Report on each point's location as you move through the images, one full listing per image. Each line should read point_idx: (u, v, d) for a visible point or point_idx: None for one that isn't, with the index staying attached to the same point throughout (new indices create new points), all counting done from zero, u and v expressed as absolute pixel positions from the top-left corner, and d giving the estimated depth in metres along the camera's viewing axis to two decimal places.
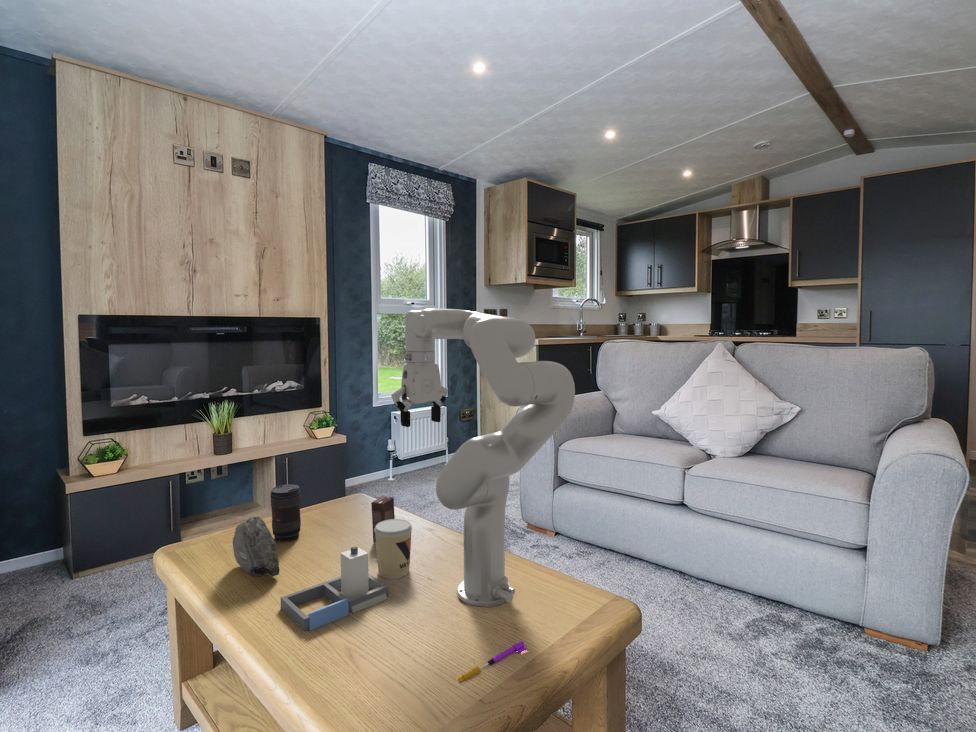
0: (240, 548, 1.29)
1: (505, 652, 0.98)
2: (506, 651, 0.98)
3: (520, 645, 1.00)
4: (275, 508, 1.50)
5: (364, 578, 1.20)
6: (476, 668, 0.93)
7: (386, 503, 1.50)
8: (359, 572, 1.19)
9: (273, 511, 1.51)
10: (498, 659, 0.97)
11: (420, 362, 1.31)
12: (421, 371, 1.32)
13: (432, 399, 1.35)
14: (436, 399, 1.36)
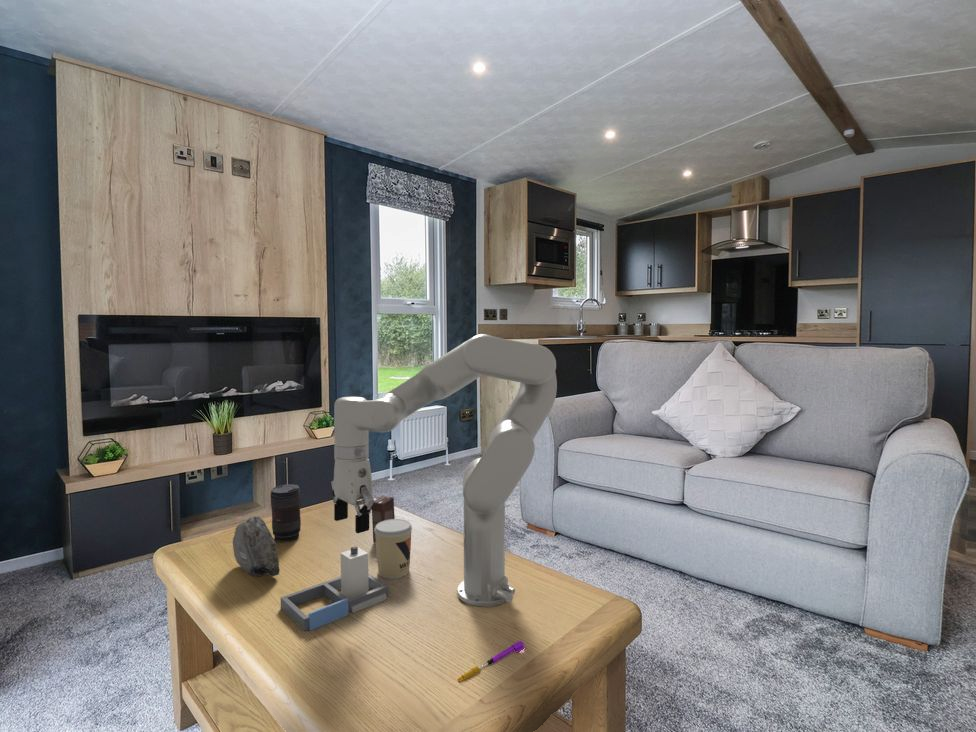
0: (240, 548, 1.29)
1: (504, 652, 0.98)
2: (505, 651, 0.99)
3: (519, 644, 1.00)
4: (275, 508, 1.50)
5: (364, 578, 1.20)
6: (476, 668, 0.94)
7: (386, 503, 1.50)
8: (359, 572, 1.19)
9: (273, 511, 1.51)
10: (497, 659, 0.97)
11: (368, 455, 1.19)
12: None
13: None
14: None
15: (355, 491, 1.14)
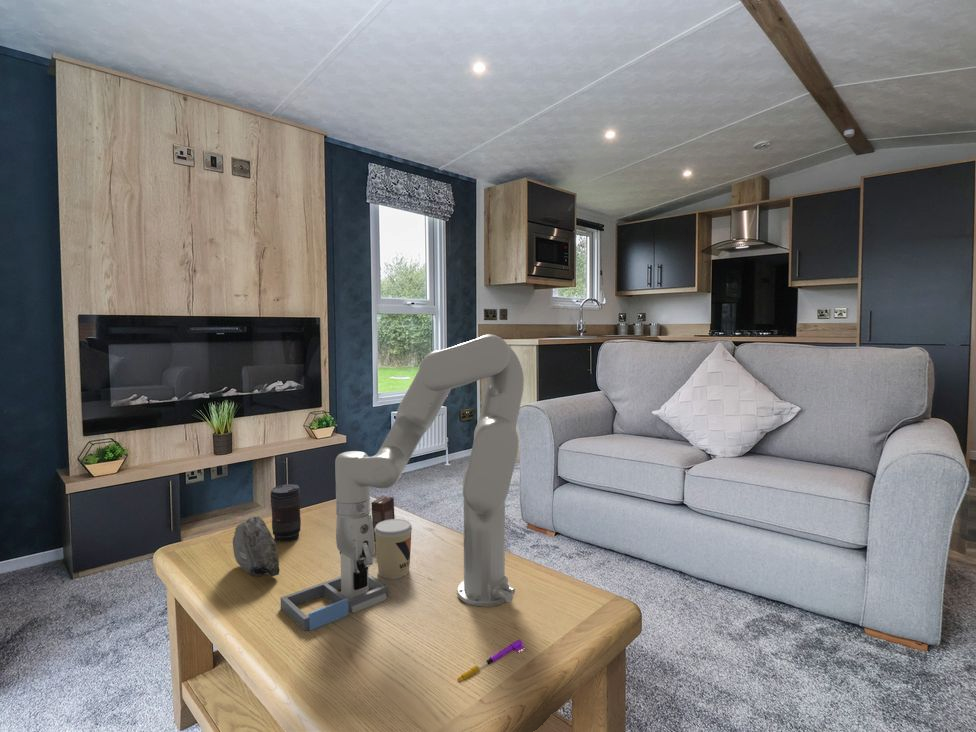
0: (240, 548, 1.29)
1: (503, 651, 0.98)
2: (504, 650, 0.99)
3: (518, 643, 1.01)
4: (275, 508, 1.50)
5: None
6: (475, 667, 0.94)
7: (386, 503, 1.50)
8: None
9: (273, 511, 1.51)
10: (496, 658, 0.97)
11: (369, 509, 1.20)
12: None
13: None
14: None
15: (357, 547, 1.15)
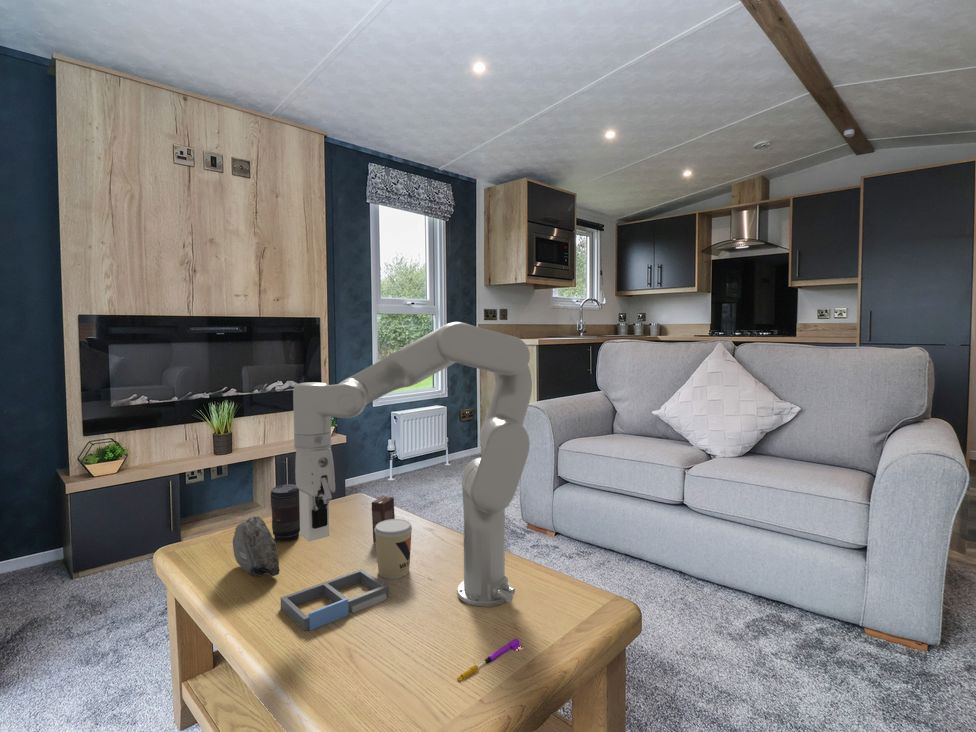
0: (240, 548, 1.29)
1: (501, 650, 0.99)
2: (502, 649, 0.99)
3: (515, 642, 1.01)
4: (275, 508, 1.50)
5: None
6: (474, 667, 0.94)
7: (386, 503, 1.50)
8: None
9: (273, 511, 1.51)
10: (495, 657, 0.97)
11: (330, 443, 1.12)
12: None
13: None
14: None
15: (315, 482, 1.08)
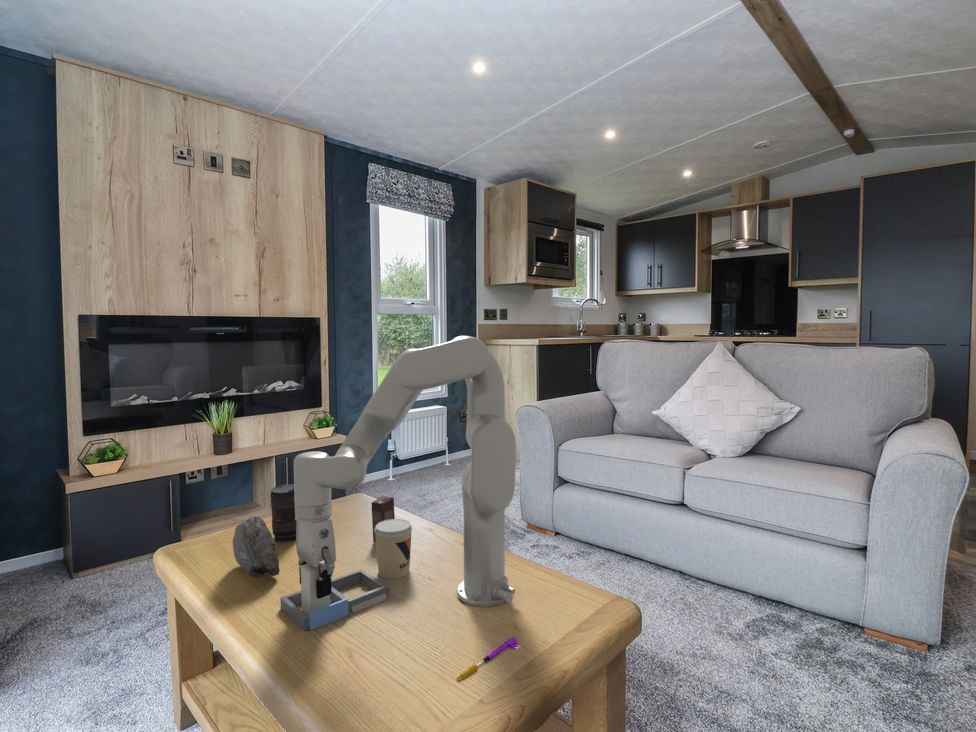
0: (240, 548, 1.29)
1: (499, 648, 0.99)
2: (500, 647, 1.00)
3: (513, 641, 1.02)
4: (275, 508, 1.50)
5: None
6: (473, 666, 0.94)
7: (386, 503, 1.50)
8: None
9: (273, 511, 1.51)
10: (493, 656, 0.98)
11: (331, 513, 1.13)
12: None
13: None
14: None
15: (316, 553, 1.09)
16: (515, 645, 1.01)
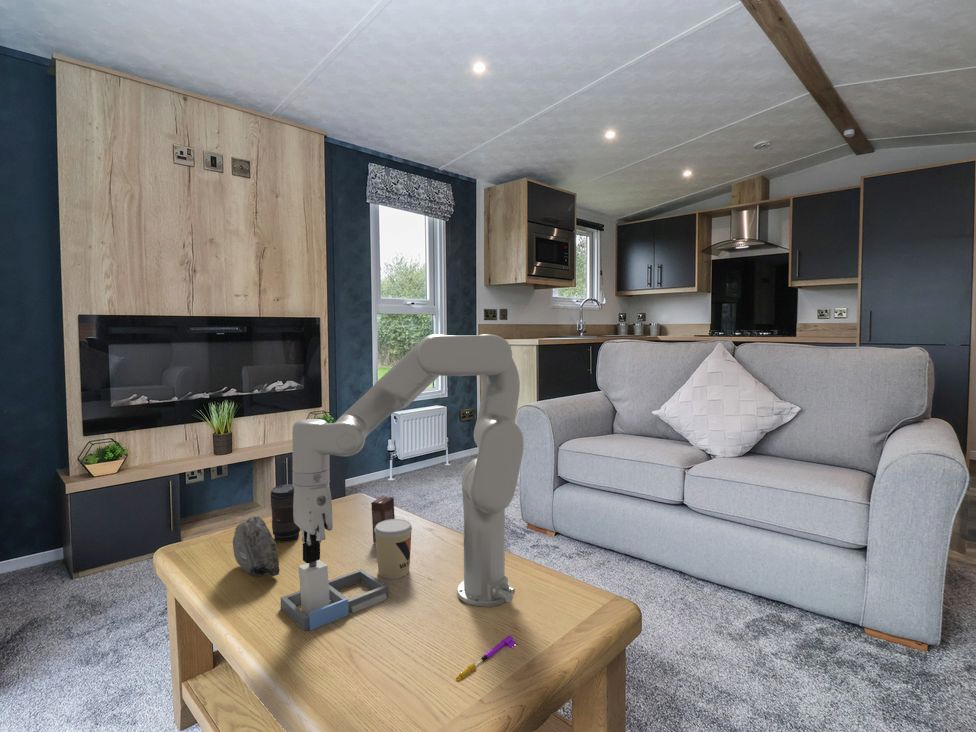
0: (240, 548, 1.29)
1: (496, 647, 1.00)
2: (497, 646, 1.00)
3: (509, 639, 1.02)
4: (275, 508, 1.50)
5: (324, 592, 1.13)
6: (472, 665, 0.94)
7: (386, 503, 1.50)
8: (318, 586, 1.12)
9: (273, 511, 1.51)
10: (491, 655, 0.98)
11: (329, 480, 1.13)
12: None
13: None
14: None
15: (313, 520, 1.08)
16: (512, 643, 1.02)
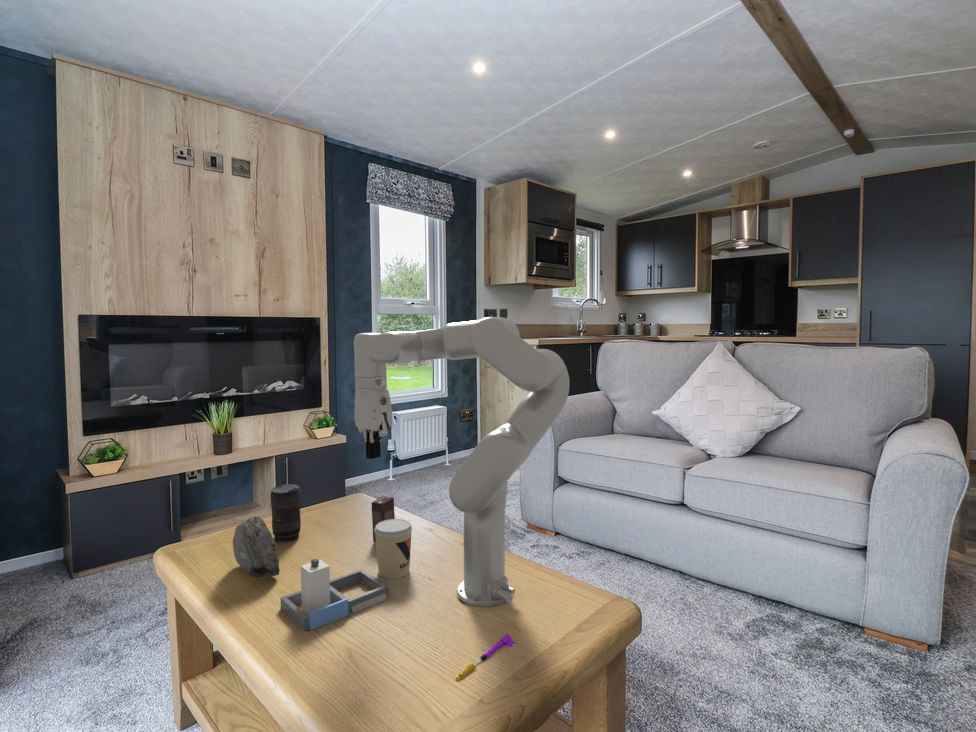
0: (240, 548, 1.29)
1: (495, 646, 1.00)
2: (496, 645, 1.00)
3: (508, 638, 1.02)
4: (275, 508, 1.50)
5: (325, 592, 1.13)
6: (471, 665, 0.94)
7: (386, 503, 1.50)
8: (320, 586, 1.12)
9: (273, 511, 1.51)
10: (489, 654, 0.98)
11: (386, 386, 1.28)
12: None
13: None
14: None
15: (377, 417, 1.24)
16: (510, 642, 1.02)
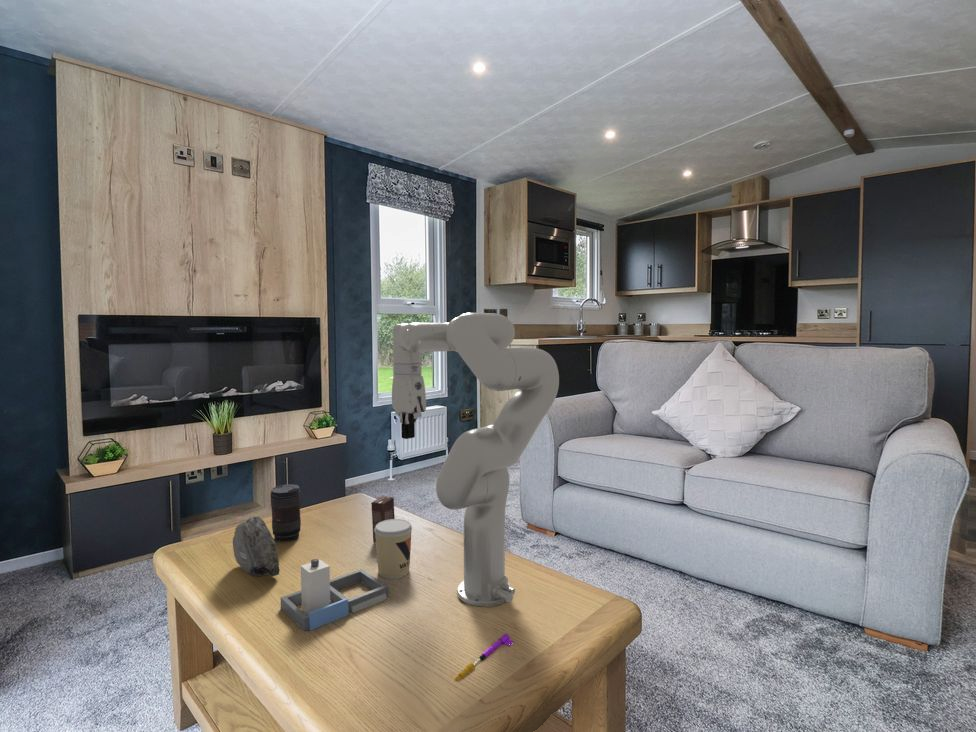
0: (240, 548, 1.29)
1: (494, 646, 1.00)
2: (494, 645, 1.00)
3: (506, 637, 1.03)
4: (275, 508, 1.50)
5: (325, 592, 1.13)
6: (471, 665, 0.94)
7: (386, 503, 1.50)
8: (320, 586, 1.12)
9: (273, 511, 1.51)
10: (488, 653, 0.98)
11: (421, 373, 1.40)
12: None
13: None
14: None
15: (413, 401, 1.36)
16: (509, 642, 1.02)
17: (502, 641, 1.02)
